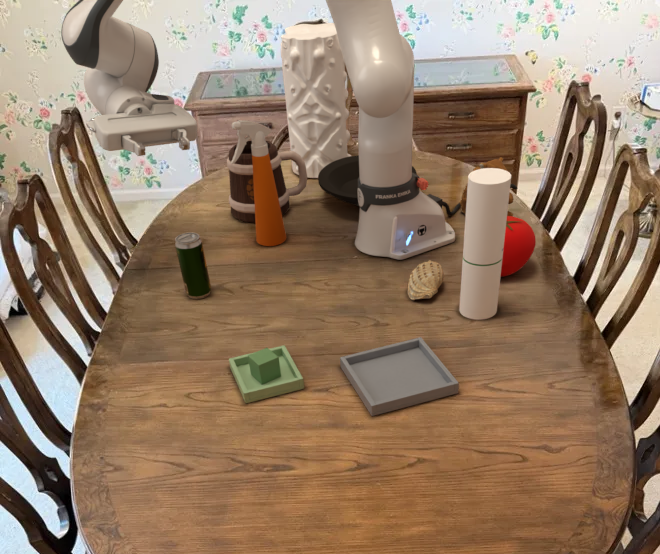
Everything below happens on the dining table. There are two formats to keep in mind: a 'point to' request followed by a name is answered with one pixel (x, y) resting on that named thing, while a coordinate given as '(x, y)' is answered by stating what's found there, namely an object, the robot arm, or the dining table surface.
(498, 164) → the stuffed squirrel
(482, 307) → the cylindrical container
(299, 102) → the vase
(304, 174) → the mug
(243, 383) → the sage tray
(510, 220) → the tomato
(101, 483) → the dining table surface
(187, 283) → the beer can
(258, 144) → the spray bottle
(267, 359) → the green block
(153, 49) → the robot arm
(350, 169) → the plate
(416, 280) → the seashell
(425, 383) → the steel tray
